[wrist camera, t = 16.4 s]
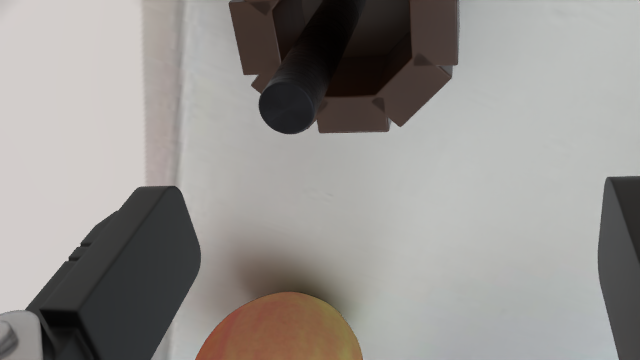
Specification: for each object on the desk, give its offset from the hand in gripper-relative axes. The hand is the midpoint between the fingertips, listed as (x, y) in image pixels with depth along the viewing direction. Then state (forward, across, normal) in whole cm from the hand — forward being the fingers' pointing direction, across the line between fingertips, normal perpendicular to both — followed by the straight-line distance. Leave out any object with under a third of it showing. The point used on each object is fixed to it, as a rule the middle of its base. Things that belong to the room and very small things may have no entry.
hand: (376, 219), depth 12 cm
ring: (+15, +3, 0) cm, 15 cm away
